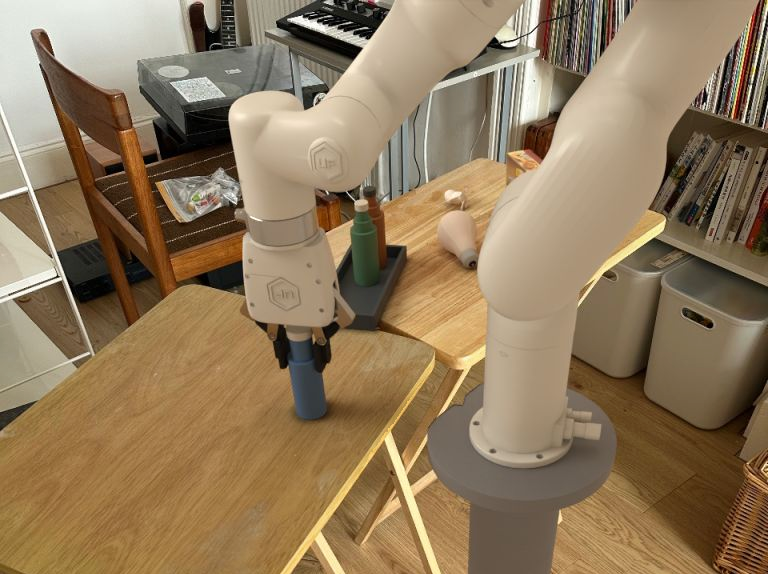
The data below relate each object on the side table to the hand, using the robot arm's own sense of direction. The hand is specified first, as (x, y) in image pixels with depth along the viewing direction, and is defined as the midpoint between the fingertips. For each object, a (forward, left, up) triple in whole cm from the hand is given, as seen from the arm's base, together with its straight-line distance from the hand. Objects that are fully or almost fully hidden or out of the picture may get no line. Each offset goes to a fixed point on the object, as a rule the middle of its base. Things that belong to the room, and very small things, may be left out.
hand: (304, 363), depth 97 cm
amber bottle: (+1, -37, -7) cm, 38 cm away
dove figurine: (-8, -61, -7) cm, 62 cm away
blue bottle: (0, 0, -7) cm, 7 cm away
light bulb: (-12, -43, -7) cm, 45 cm away
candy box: (-22, -44, -7) cm, 50 cm away
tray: (+1, -30, -7) cm, 31 cm away
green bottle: (+1, -32, -7) cm, 33 cm away
